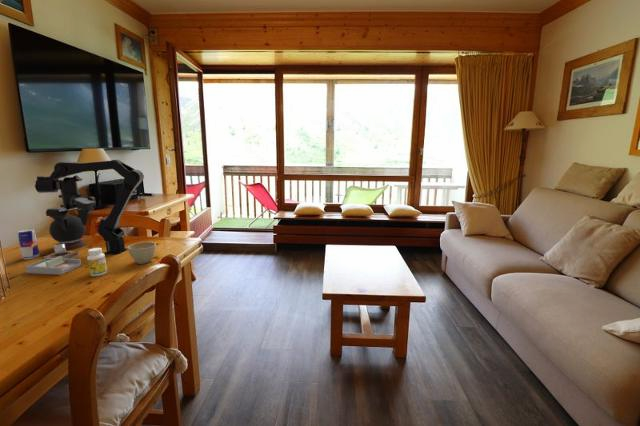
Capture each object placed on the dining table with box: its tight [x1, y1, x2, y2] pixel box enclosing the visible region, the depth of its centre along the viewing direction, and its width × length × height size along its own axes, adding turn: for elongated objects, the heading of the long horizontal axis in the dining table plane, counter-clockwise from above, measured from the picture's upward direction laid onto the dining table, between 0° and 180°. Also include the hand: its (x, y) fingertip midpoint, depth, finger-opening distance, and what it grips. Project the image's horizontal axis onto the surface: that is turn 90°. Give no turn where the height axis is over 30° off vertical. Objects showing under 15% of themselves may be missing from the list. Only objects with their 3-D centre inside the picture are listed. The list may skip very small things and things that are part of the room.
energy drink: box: [16, 228, 40, 260], centre depth 129 cm, size 5×5×12 cm
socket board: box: [42, 250, 80, 260], centre depth 128 cm, size 8×8×2 cm
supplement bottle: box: [86, 247, 108, 277], centre depth 114 cm, size 5×5×10 cm
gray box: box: [24, 258, 82, 276], centre depth 119 cm, size 14×9×3 cm, turn 85°
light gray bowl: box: [127, 241, 156, 265], centre depth 126 cm, size 10×10×7 cm
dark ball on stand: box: [48, 214, 87, 251], centre depth 143 cm, size 13×13×15 cm
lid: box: [35, 256, 65, 267], centre depth 119 cm, size 7×7×3 cm
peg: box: [53, 243, 67, 256], centre depth 127 cm, size 4×4×6 cm
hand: (75, 227), depth 132 cm, fingers open, 9 cm apart
